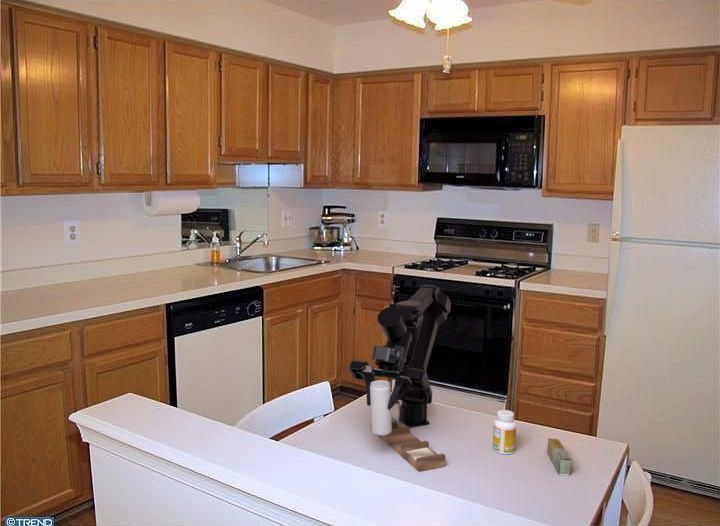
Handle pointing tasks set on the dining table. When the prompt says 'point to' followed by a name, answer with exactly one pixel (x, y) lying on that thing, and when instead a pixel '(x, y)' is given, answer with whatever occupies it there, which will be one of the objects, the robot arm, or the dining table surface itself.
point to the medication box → (558, 456)
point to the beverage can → (380, 408)
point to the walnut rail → (414, 449)
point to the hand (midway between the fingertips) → (378, 407)
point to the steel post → (395, 415)
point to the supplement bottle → (504, 433)
